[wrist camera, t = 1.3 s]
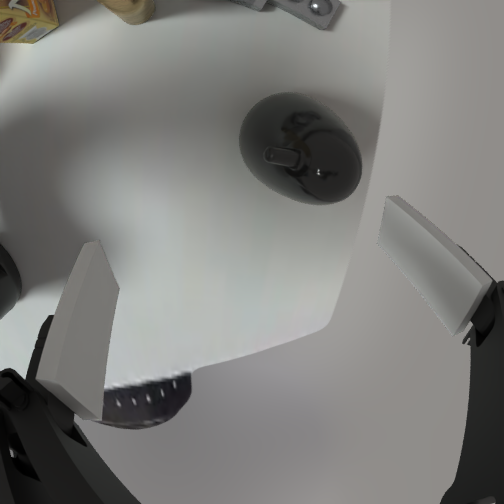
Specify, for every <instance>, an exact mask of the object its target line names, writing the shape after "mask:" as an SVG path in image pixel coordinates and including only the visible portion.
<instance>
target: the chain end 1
mask: <svg viewBox="0 0 504 504" xmlns="http://www.w3.org/2000/svg"><path fill="white" fill-rule="evenodd" d="M230 1H233V2H236V3H238V4H241V5H243V6H246V7H248V8H250V7H251V6H252V5H253V4H254V2H255V0H230Z"/></svg>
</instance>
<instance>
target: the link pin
mask: <svg viewBox="0 0 504 504" xmlns="http://www.w3.org/2000/svg"><path fill="white" fill-rule="evenodd" d="M97 1H98V2H100V3H101V4H102V5H104V6H105V7H106V8H108V9H109V10H110V11H112V12H113V13H114V14H115V15H117V16H118V17H119V18H121V19H122V20H123V21H124V22H126V23H127V24H130V25H138V24H142V23H144V22H146V21H147V20H149V19H150V18H151V16H152V15H153V13H154V11H155V4H154V2H153V0H97Z"/></svg>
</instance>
